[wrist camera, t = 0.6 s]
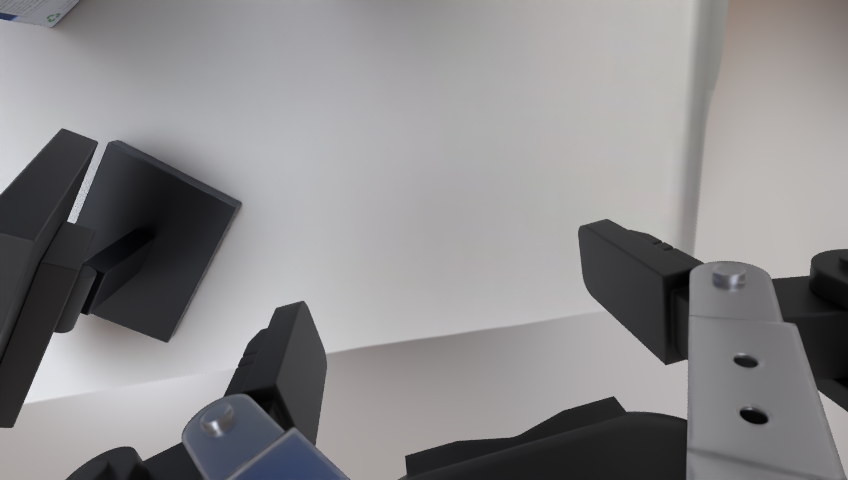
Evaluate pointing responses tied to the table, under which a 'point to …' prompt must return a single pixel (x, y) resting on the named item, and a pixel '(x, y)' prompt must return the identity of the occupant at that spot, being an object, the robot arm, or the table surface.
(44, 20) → the string lights box
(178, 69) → the table surface
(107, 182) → the monitor stand
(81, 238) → the panel
